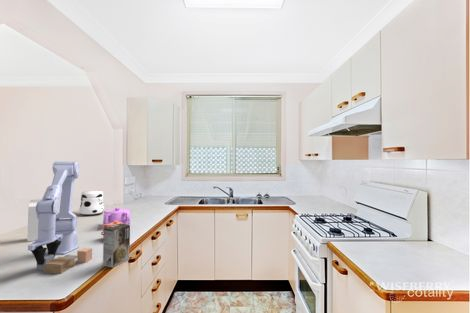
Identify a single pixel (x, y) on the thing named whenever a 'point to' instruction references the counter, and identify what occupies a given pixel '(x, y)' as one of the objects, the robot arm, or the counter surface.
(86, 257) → the terracotta block
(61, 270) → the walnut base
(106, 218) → the teakettle
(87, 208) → the milk container
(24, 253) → the counter surface
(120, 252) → the coffee box
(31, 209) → the milk
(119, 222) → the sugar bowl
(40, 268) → the grey block
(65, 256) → the tile
